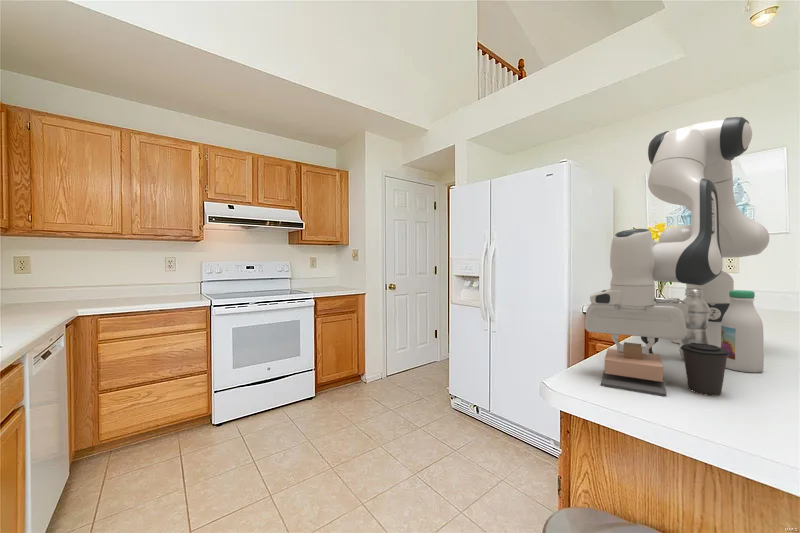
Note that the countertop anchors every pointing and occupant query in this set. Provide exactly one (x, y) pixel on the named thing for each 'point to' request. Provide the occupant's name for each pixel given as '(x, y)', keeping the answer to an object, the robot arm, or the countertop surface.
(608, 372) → the cover
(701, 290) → the plastic bottle
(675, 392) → the countertop surface
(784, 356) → the countertop surface
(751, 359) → the milk bottle
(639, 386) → the mat
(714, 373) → the coffee cup
